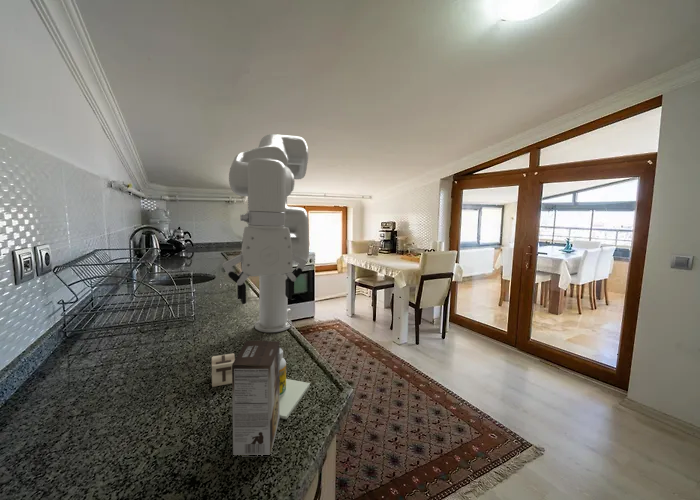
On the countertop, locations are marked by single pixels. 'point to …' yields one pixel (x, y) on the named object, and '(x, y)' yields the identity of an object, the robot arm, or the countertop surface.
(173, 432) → the countertop surface
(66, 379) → the countertop surface
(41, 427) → the countertop surface
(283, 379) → the supplement bottle
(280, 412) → the sage pad
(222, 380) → the letter cube
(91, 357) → the countertop surface
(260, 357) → the coffee box
